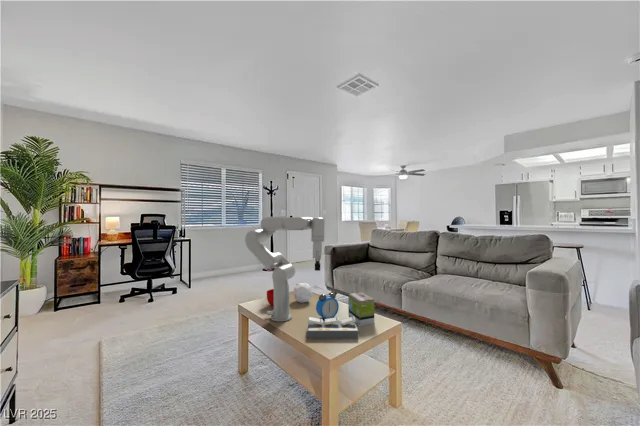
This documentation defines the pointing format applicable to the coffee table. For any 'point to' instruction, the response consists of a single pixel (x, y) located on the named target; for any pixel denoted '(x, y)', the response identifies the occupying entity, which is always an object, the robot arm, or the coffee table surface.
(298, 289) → the geodesic sphere
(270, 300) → the ceramic cup
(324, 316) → the alarm clock
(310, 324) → the switch console
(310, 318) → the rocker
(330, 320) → the plate
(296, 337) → the coffee table surface
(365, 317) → the tea box
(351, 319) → the rocker
